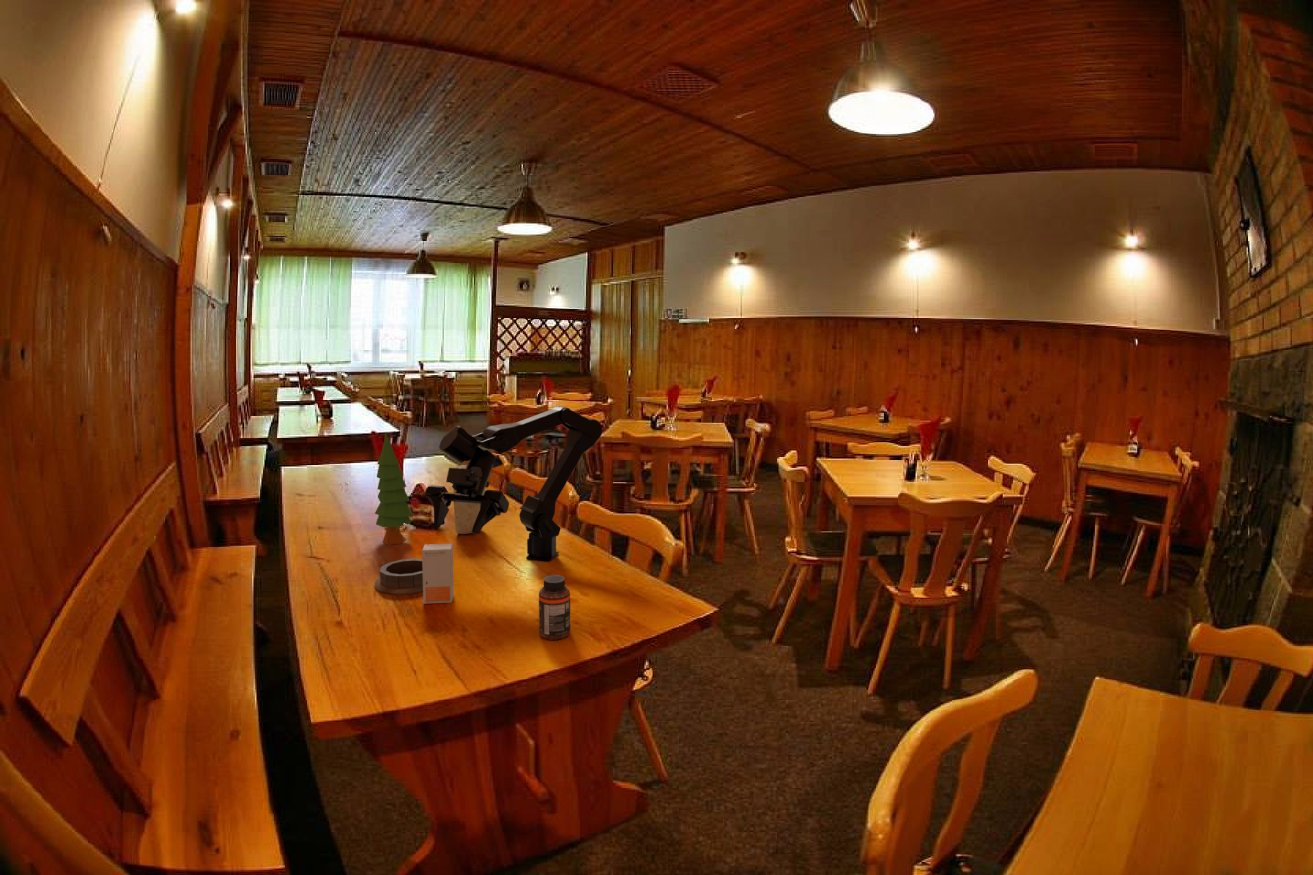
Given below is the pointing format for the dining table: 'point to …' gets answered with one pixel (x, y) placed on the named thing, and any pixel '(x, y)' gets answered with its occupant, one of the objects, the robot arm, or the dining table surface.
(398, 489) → the decorative tree
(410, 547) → the dining table surface
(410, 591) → the stone fire pit
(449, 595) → the skincare box
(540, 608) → the supplement bottle
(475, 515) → the food model
